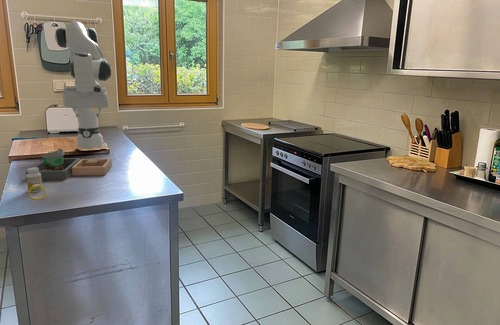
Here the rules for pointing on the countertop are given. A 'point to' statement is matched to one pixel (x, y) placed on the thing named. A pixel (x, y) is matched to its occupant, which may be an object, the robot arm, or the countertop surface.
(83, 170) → the terracotta bin
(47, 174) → the charcoal bin
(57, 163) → the food container
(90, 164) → the walnut block
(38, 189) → the supplement bottle
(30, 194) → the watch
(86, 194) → the countertop surface
